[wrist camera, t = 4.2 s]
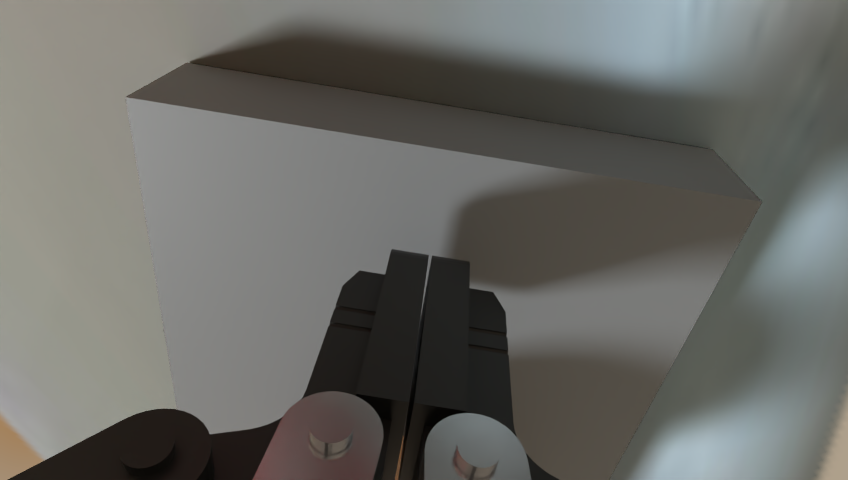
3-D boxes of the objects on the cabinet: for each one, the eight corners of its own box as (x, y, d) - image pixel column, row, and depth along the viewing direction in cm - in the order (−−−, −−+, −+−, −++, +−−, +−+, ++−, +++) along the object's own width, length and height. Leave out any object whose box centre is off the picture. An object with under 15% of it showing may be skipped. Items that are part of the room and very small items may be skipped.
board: (186, 62, 12) (125, 97, 10) (712, 149, 12) (761, 201, 10) (238, 582, 25) (216, 645, 23) (492, 623, 25) (493, 689, 23)
